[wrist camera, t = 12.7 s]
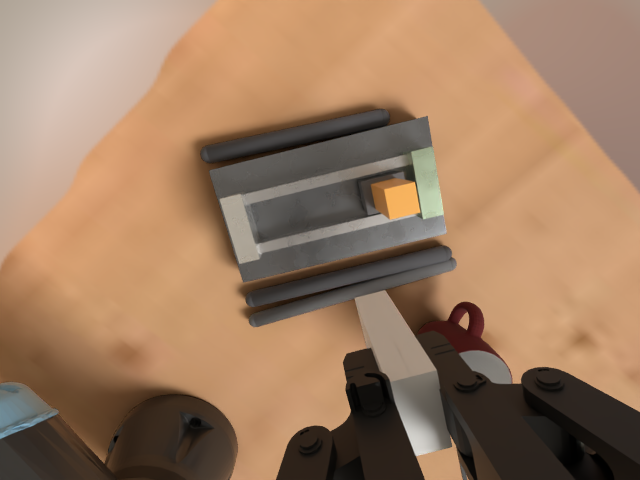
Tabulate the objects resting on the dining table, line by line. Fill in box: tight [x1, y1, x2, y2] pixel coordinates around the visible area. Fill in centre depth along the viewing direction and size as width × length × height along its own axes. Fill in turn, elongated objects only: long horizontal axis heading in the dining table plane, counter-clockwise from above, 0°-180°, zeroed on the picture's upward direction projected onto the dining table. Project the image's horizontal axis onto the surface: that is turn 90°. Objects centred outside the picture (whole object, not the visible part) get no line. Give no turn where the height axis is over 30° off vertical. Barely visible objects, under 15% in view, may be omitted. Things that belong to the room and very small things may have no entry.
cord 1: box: [200, 109, 390, 163], centre depth 36 cm, size 20×2×2 cm, turn 102°
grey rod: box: [246, 246, 452, 307], centre depth 40 cm, size 24×2×2 cm, turn 104°
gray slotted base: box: [209, 116, 447, 283], centre depth 36 cm, size 22×12×6 cm, turn 104°
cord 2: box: [249, 257, 457, 327], centre depth 40 cm, size 25×2×2 cm, turn 107°
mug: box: [417, 302, 512, 384], centre depth 37 cm, size 11×8×10 cm
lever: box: [358, 171, 420, 220], centre depth 31 cm, size 4×3×8 cm
